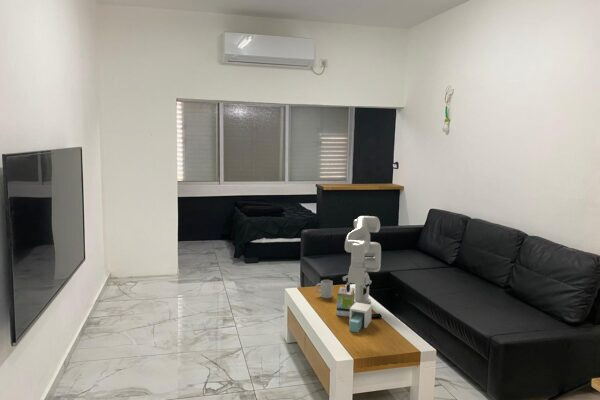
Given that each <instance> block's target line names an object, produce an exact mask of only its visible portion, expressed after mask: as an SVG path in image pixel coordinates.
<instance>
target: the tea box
mask: <svg viewBox="0 0 600 400" xmlns="http://www.w3.org/2000/svg"><path fill="white" fill-rule="evenodd" d="M354 298H355V287H350V291H349V292H347V286H340V287H339V290H338V291H337V298H336V300H337V301H336V312H335V313H336V314H335V315H336V316H341V317H350V308H351V307H352V306H353V305H354Z"/></svg>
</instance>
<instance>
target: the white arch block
mask: <svg viewBox="0 0 600 400" xmlns="http://www.w3.org/2000/svg"><path fill="white" fill-rule="evenodd" d="M372 305H373V304H370V303H369V304H363V303H357V302H355V303H354V305H353V306H352V307H351V308H350V317H349V319H348V324H349V326H350V321H351V319H352V318H353V317H354V316H355V314H357V315H363V316H364V319H363V328H364V329H366V328H368V326H369V325H370V324H371V322H372V315H373V313H372V310H373V306H372Z"/></svg>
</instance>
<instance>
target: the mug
mask: <svg viewBox="0 0 600 400" xmlns="http://www.w3.org/2000/svg"><path fill="white" fill-rule="evenodd" d="M333 283H334V282H333V280H330V279H322V280H321V281H320V283H319V282H318V283H317V284H316V286H315V291H316V293H318V294H320V297H321V298H322V299H332V298H333V290H334V289H333V288H334V285H333ZM319 286H320V290H318V288H319Z"/></svg>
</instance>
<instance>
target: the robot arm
mask: <svg viewBox="0 0 600 400" xmlns="http://www.w3.org/2000/svg"><path fill="white" fill-rule="evenodd" d="M353 227H354V229H353V230H352V231H351V232H348V234H347V235H346V237H345V241H344V251H346V253H351V254H350V255H351V257H350V265H349V268H348V269H349V270H348V273H347V275H345V276H342V281H343V283H344V284H345V287H347V292H349V291H350V288H351V284H353V285H355V286H354V303H355V302H357V303H363V304H370V303H371V302H372V301H371V299H370V298H369V297H370V285H372V282H373V281H372V280H371V279H370V276H369V273H368V272H375V273H376V272H379V271H380V270H381V266H382V265H381V262H382V261H381V260H382V245H381V244H380V243H379V242H376V241H371V233H378V232H379V231H380V229H381V222H380V219H379V217H378V216H373V215H371V216H370V215H360V216H358V217H357V218H356V219H354V220H353Z"/></svg>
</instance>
